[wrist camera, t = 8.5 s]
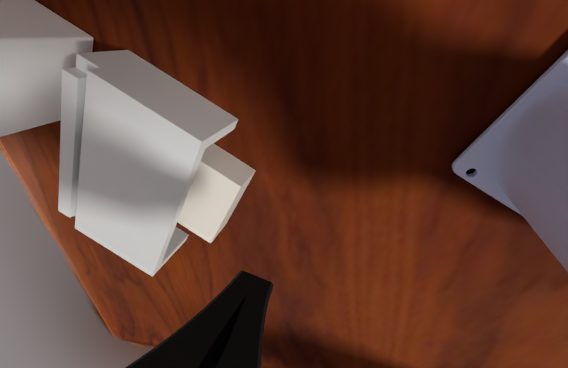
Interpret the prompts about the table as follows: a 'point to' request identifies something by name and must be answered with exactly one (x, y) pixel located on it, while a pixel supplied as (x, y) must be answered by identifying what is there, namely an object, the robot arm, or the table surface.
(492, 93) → the table surface
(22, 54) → the milk
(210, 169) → the cream rectangular beam
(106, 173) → the slotted white box
